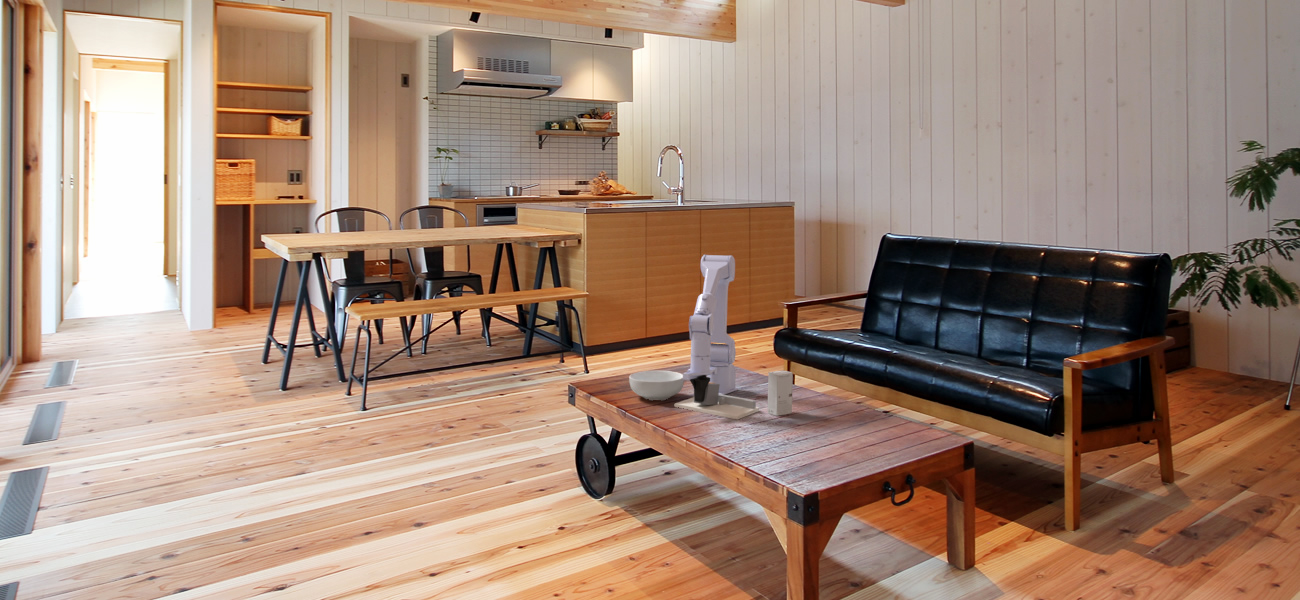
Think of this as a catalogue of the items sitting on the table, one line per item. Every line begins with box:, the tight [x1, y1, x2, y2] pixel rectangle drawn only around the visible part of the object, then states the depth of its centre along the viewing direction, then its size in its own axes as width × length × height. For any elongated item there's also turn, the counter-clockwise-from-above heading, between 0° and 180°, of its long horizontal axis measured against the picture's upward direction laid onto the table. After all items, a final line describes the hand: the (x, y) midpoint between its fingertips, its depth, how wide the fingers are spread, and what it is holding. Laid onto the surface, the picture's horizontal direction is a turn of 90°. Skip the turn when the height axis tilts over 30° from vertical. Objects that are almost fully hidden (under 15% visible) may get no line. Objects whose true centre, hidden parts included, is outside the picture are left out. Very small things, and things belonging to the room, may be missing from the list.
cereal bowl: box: [628, 369, 685, 401], centre depth 264 cm, size 17×17×7 cm
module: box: [694, 382, 720, 405], centre depth 251 cm, size 6×4×6 cm
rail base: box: [674, 394, 760, 420], centre depth 251 cm, size 12×22×3 cm, turn 52°
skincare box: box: [767, 369, 794, 417], centre depth 245 cm, size 6×4×12 cm
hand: (699, 401), depth 248 cm, fingers closed, pressing on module
